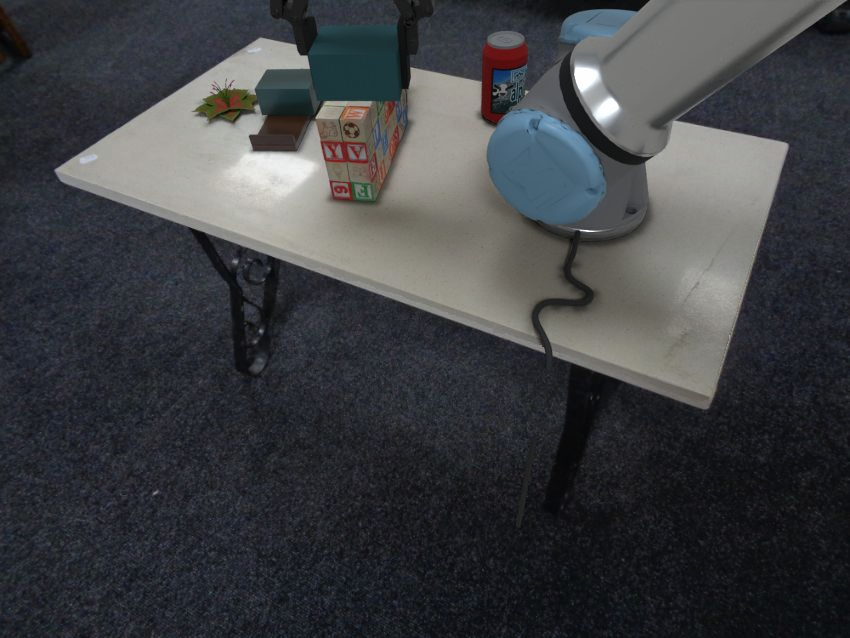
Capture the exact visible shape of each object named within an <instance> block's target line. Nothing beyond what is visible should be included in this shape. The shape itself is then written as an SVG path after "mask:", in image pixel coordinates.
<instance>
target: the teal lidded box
mask: <svg viewBox="0 0 850 638" xmlns="http://www.w3.org/2000/svg"><path fill="white" fill-rule="evenodd" d="M254 93H255V95H256V97H257V100H256V101H257V103H258V106H259V110H260V113H261V116H266V118H265V120H264V122H263V124H262V126H261V127H260V129H259V131H258V133H256V134H253V133H252V134H249V135H248V139H249V142H250V144H251V148H252V151H254V152H255V151H256V152H258V151H259V152H261V151H264V152H267V151H268V152H270V151H271V152H273V151H274V152H275V151H277V152H281V151H282V152H292V151H293V152H295V151H297V150H298V148H299V146H300V144H301V142H302V140H303V137H304V135H305V133H306V131H307V128H308V126H309V124H310V121H311V119H312V117H313V116H316V113H317V111H318V109H319V107H320V104H321V102H322V101H317V98H316V93H315V89H314V87H313V82H312V77H311V72H310V68H268V69H267V68H266V69H265V71H264V73H263V74H262V76H261V78H260V79H259V80H258V82H257V84H256V86H255V87H254Z"/></svg>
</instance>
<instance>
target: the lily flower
mask: <svg viewBox="0 0 850 638" xmlns="http://www.w3.org/2000/svg"><path fill="white" fill-rule="evenodd" d="M235 81H236V80H235V79H233V80H231V81H230V83H229V85H228V86H227V82H228V78H226V79H225V84H224V85H225V87H222V88H221V87H220V86H219V84H218V83H217V82H216V81H215V80H213V81H212V82H213V83H214V84H213V83H212V84H211V87H212V90H214V91H216V92H217V93H214V92H213V91H209V93H210V94H211V95H209V96H207V97H204V98H202V101H203V102H204V103H203V104H200V105H198V107H196V108H195V109H194V110H192V111H191V113H206V121H207V122H208V121H209V120H211V119H212V118H214V117H215V116H217V115H220V116H221V117H223V118H225V119H227V120H230V121H231V122H233V121H234V120H235V119H236V117H238V115H239V114H240V113H241V111H242V110H243V109H244V110H252V111H256V108H255V106H254V105H253V103H254V102H255V101H258V100H257V97H256V94H253V93H252V94H248V91H249V90H250V89H244V88H243V89H241V88H235V87H234V88H233V89H230V88H231V87H232V86H233V84H232V83H234V82H235ZM220 82H221V79H220Z"/></svg>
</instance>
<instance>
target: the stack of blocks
mask: <svg viewBox="0 0 850 638" xmlns="http://www.w3.org/2000/svg"><path fill="white" fill-rule="evenodd" d="M324 102H325V103H324V104H323V106H322V107H321V108H320V110H319V111H318V113H317V114H316V115H315V123H316V127H317V132H318V136H319V143H320V147H321V152H322V156H323V160H324V163H325V167H326V171H327V176H328V183H329V188H330V191H331V197H332V199H335V200H348V201H353V200H354V201H365V202H375V201H376V200H377V197H378V195H379V193H380V190H381V189H382V187H383V184H384V182H385V180H386V178H387V175H388V173H389V170H390V168H391V165H392V161H393V158H394V156H395V154H396V150H397V148H398V146H399V144H400V142H401V139H402V137H403V135H404V132H405V130H406V127H407V125H408V122H409V116H408V106H407V104H406V92H405V89H403V90H402V94H401V99H400V101H324Z"/></svg>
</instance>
